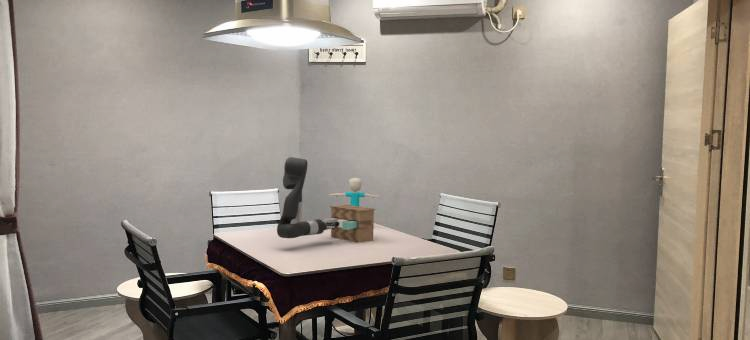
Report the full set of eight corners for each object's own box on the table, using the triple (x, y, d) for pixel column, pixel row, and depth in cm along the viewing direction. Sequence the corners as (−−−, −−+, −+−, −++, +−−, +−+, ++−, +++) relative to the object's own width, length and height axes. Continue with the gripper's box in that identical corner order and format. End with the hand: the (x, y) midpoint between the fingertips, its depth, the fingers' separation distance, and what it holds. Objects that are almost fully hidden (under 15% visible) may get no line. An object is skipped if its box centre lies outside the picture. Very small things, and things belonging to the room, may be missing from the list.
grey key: (324, 225, 349) (324, 218, 349) (336, 224, 355) (336, 217, 355) (329, 226, 346) (329, 219, 346) (341, 224, 353) (341, 217, 352)
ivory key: (337, 226, 346) (337, 219, 346) (349, 225, 353) (349, 218, 352) (342, 227, 344) (342, 220, 343) (354, 225, 350) (354, 218, 350)
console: (329, 237, 356) (330, 206, 354) (344, 234, 363) (344, 204, 362) (359, 243, 340) (360, 210, 339) (374, 240, 348) (374, 208, 346)
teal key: (342, 229, 339) (342, 221, 339) (354, 227, 346) (354, 220, 345) (347, 230, 337) (347, 222, 336) (359, 228, 343) (360, 220, 343)
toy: (380, 227, 390) (381, 177, 387) (379, 230, 380) (380, 178, 378) (330, 225, 393) (330, 176, 390) (327, 228, 383) (328, 177, 381)
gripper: (321, 221, 326) (347, 218, 339) (304, 218, 335) (329, 215, 348) (321, 236, 327) (346, 232, 339) (304, 233, 336) (329, 229, 348)
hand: (338, 223), depth 344 cm, fingers closed
